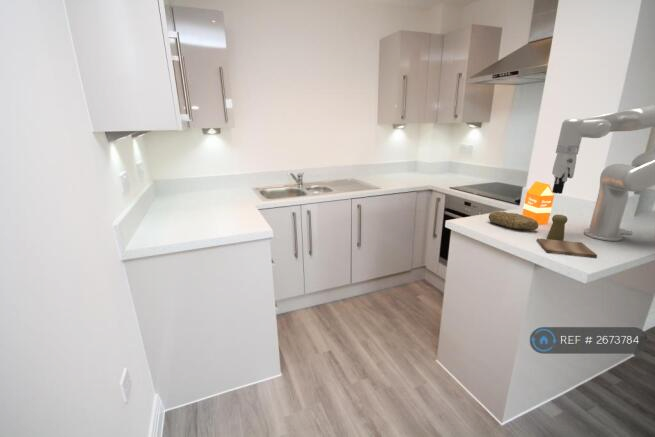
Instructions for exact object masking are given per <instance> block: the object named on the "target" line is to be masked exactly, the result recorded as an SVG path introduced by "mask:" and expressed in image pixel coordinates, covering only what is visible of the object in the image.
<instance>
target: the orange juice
mask: <svg viewBox="0 0 655 437" xmlns="http://www.w3.org/2000/svg"><path fill="white" fill-rule="evenodd" d="M552 190H553V189H552V187H551V186H550V184H549V183H545V182H540V181H536V180H535V181H534V182H533V184H532V185H531V187H529V188H528V190H527V191H526V194H525V197H524V198H525V199H524V204H523V210H522V214H521V215H523V216H526V217H529V218H532V219H535V220H536V221H537V222H538V225H548V224H549V222H550V221H549V220H550V215H551V211H552V208H553V203H554V198H555V195H554V193H553V192H552Z"/></svg>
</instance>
